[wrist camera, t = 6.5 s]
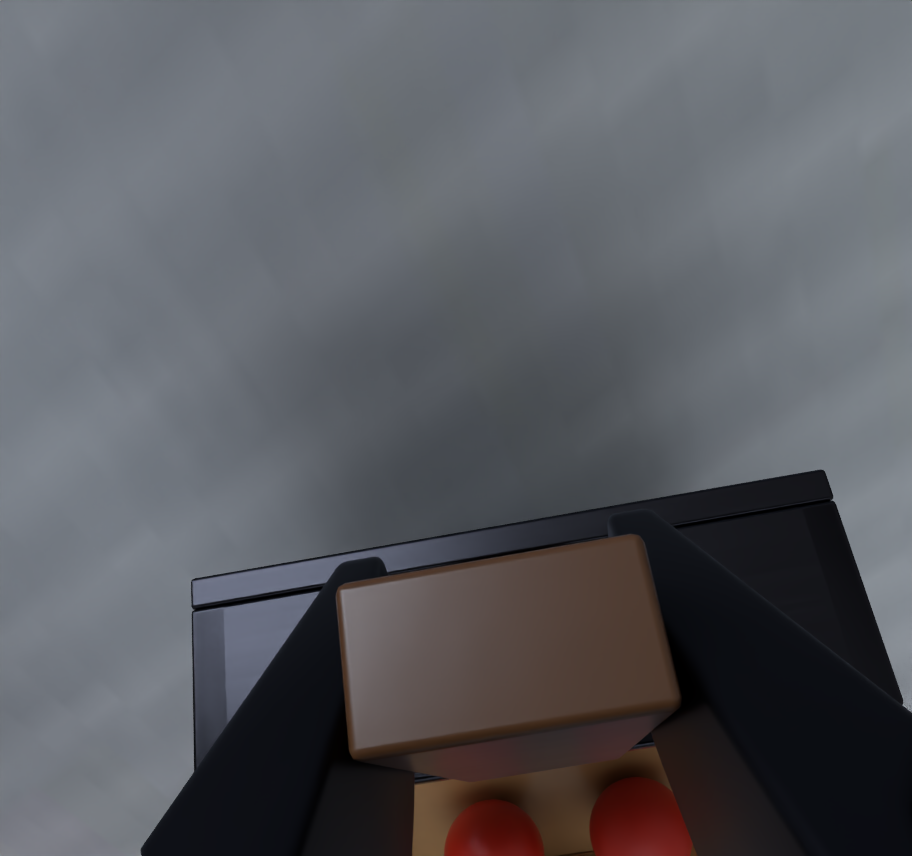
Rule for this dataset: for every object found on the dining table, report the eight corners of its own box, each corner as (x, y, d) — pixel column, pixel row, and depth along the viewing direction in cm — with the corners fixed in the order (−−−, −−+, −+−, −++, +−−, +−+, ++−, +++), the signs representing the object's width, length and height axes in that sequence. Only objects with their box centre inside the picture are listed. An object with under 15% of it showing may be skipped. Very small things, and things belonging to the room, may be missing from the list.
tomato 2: (605, 919, 24) (587, 820, 24) (592, 856, 27) (576, 766, 27) (712, 904, 24) (695, 803, 24) (686, 841, 27) (672, 751, 27)
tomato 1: (451, 941, 24) (432, 841, 24) (456, 879, 27) (438, 789, 27) (556, 926, 24) (537, 824, 24) (549, 865, 27) (532, 774, 27)
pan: (-144, 382, 7) (-224, 855, 6) (1068, 151, 7) (1324, 606, 5) (350, 672, 24) (362, 815, 22) (713, 612, 23) (751, 753, 22)
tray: (339, 894, 29) (334, 981, 27) (252, 696, 24) (235, 782, 22) (808, 822, 29) (845, 905, 26) (820, 602, 24) (867, 680, 21)
